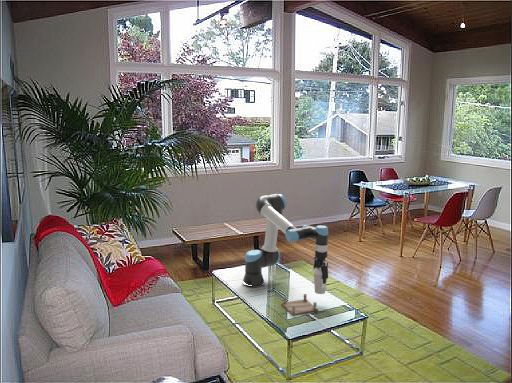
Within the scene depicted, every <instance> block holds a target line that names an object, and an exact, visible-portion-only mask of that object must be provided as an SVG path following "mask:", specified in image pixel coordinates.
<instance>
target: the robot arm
mask: <svg viewBox="0 0 512 383" xmlns="http://www.w3.org/2000/svg"><path fill="white" fill-rule="evenodd" d="M287 205H288V204H287V200H286V197H285V196H284V195H283V194H281V193H273V194H265V195H261V196H260V197H258V198H257V200H256V203H255V208H256V211H257V212H258V214H260V216H262V217H265V218H266V226H265V236H264V244H263V245H262V247H261V250H259V249H251V250H248V251H247V252H246V253H245V256H244V257H245V258H244V262H245V263H244V267H245V268H244V270H245V272H244V276H243V278H242V282H243V281H244V282H245V283H246V284H248V285H252V286H260V285H262V284H263V283H264V284H265V280H264V277H263V276H264V275H263V273H262V271H263V270H262V269H264V268H267V267H273V266H275V265H278V263H279V262H280V260H281V253H280V250H279V248H278V247H277V242H278V241H277V240H278V231H279V230H280V231H281V232H282V233H283V234H284V235H285V236H284V237H285V239H286V241H287V242H289V243H295V242H298V241H300V242H301V241H304V240H309V239H311V240H315V245H314V249H315V251H314V252H315V253H314V257H313V258H314V261H313V270H314V269H315V268H321V271H322V278H321V279H322V280H321V288H322V289H323V288H326V287H327V282H326V279H327V280H328V279H329V268H328V266H329V262H326V258H328V246H329V245H328V243H329V227H328V226H327V225H317V226H313V225H309V224H304V225H302V227H299V228H298V227H296V226H295V225H293V223H291V222H290V221H289V220H287V219H286V217H284V216H283V215H282V214H283V211H284V210H286V208H287V207H288V206H287ZM262 286H263V285H262ZM260 287H261V286H260Z"/></svg>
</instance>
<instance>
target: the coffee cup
mask: <svg viewBox="0 0 512 383" xmlns="http://www.w3.org/2000/svg"><path fill="white" fill-rule="evenodd" d="M313 269H314V268H313ZM312 273H313V284H314V293H315V294H318V295H323V294H324V295H325V293H326V288H323V289H322V288H321V280H322V279H321V278H322V271H321V268H315V269H314V270H313V271H312ZM327 280H328V278H327V279H326V283H328V282H327Z"/></svg>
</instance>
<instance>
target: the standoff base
mask: <svg viewBox="0 0 512 383" xmlns="http://www.w3.org/2000/svg"><path fill="white" fill-rule="evenodd" d="M282 298H283V301H282V302H281V306H282V307H283V308H284V309H285V310H286V311H287V312H288V313H289V314H290V315H291V316H299V315H300V316H301V315H304V314H312V313H319V309H318V308H317V302H315V301H314V302H313V304H312V303H311V302H310V301H309V300H308V299H307V294H306V293H304V294H303V299H297V300H290V301H287V297H286V296H283V297H282Z"/></svg>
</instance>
